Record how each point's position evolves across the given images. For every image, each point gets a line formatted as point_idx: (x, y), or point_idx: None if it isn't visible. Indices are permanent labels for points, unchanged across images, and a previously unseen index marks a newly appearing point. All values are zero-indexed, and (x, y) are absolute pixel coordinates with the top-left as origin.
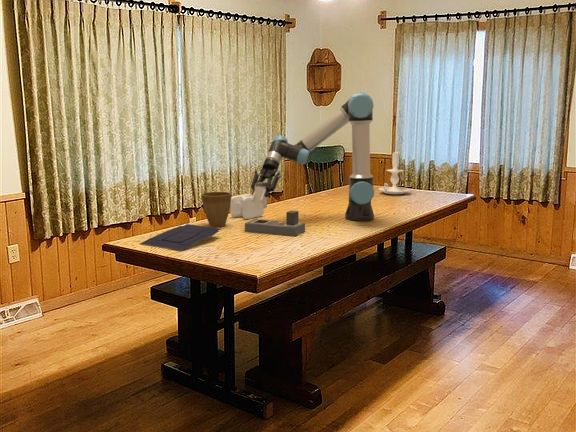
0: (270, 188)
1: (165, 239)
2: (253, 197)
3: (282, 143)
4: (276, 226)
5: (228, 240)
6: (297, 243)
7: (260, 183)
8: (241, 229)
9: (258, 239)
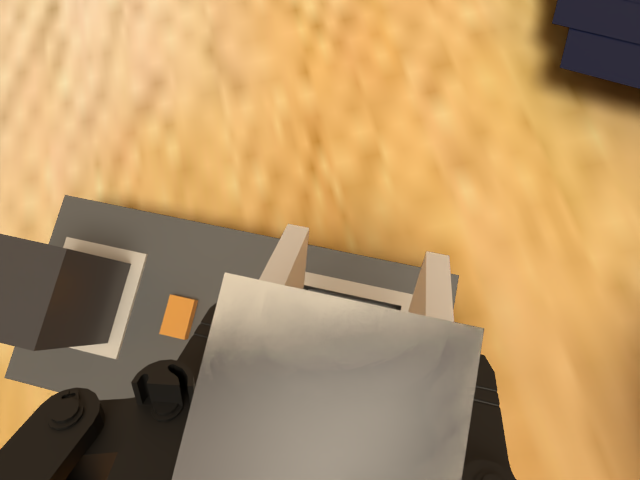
0: (103, 411)
1: None
2: (425, 277)
3: None
4: (199, 222)
5: (464, 35)
6: (79, 58)
7: (295, 329)
8: (490, 345)
9: (300, 95)
